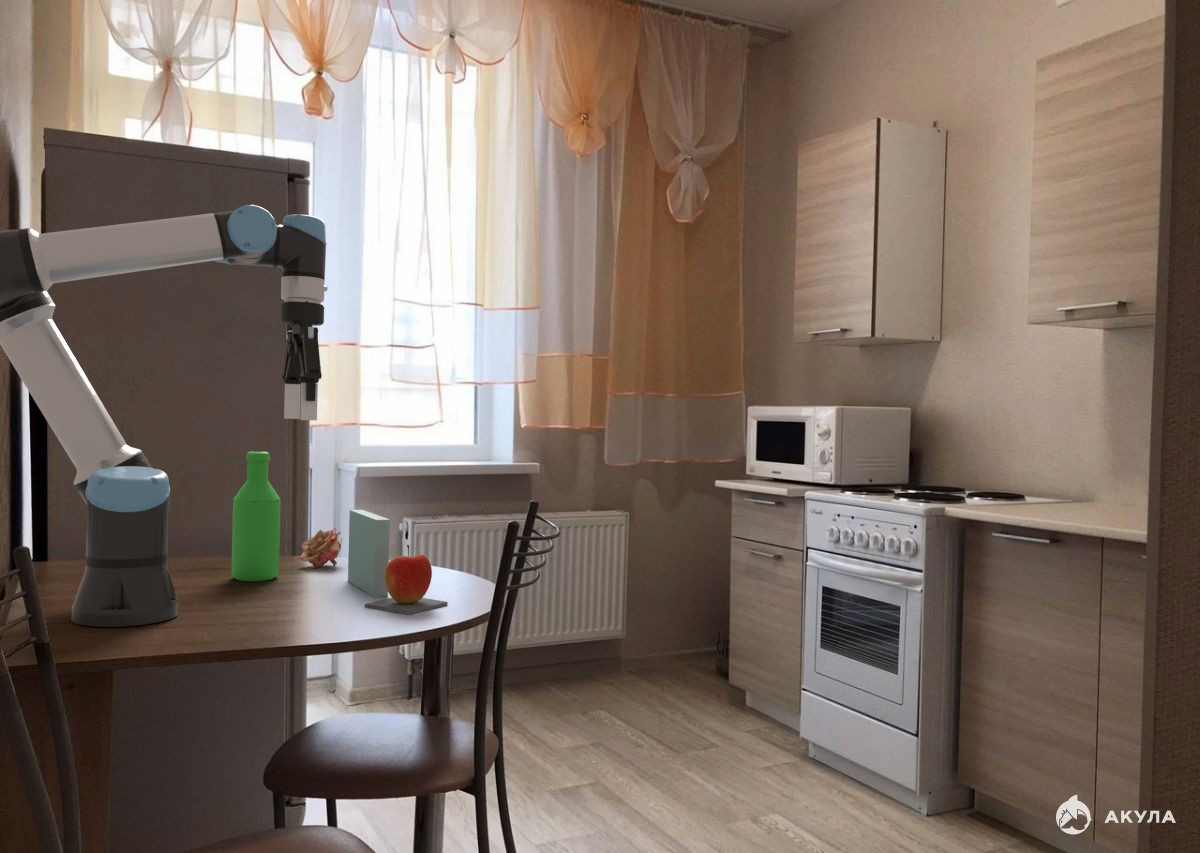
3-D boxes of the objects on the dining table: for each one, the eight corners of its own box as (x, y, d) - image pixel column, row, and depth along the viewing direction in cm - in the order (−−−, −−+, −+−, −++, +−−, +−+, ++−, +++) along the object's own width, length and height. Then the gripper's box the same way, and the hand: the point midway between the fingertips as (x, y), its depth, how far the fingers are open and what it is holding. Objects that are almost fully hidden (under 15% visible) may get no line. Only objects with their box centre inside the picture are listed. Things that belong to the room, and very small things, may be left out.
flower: (334, 553, 215) (314, 525, 212) (361, 549, 209) (341, 520, 207) (307, 582, 208) (286, 554, 205) (334, 579, 202) (313, 550, 199)
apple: (388, 608, 163) (390, 549, 162) (380, 599, 170) (381, 542, 170) (436, 606, 166) (437, 548, 166) (425, 597, 173) (427, 541, 173)
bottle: (286, 575, 195) (289, 451, 194) (266, 583, 186) (270, 453, 186) (243, 573, 196) (246, 450, 195) (222, 581, 187) (226, 451, 187)
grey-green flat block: (390, 596, 177) (392, 519, 177) (374, 597, 175) (376, 519, 175) (362, 579, 192) (364, 509, 192) (347, 580, 191) (349, 509, 191)
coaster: (408, 614, 161) (408, 610, 161) (364, 606, 166) (364, 603, 166) (447, 605, 170) (447, 601, 170) (404, 598, 175) (404, 594, 175)
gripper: (341, 298, 167) (338, 421, 167) (308, 309, 188) (305, 418, 189) (296, 294, 163) (293, 420, 163) (268, 306, 185) (265, 417, 185)
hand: (299, 419), depth 176 cm, fingers open, 13 cm apart
